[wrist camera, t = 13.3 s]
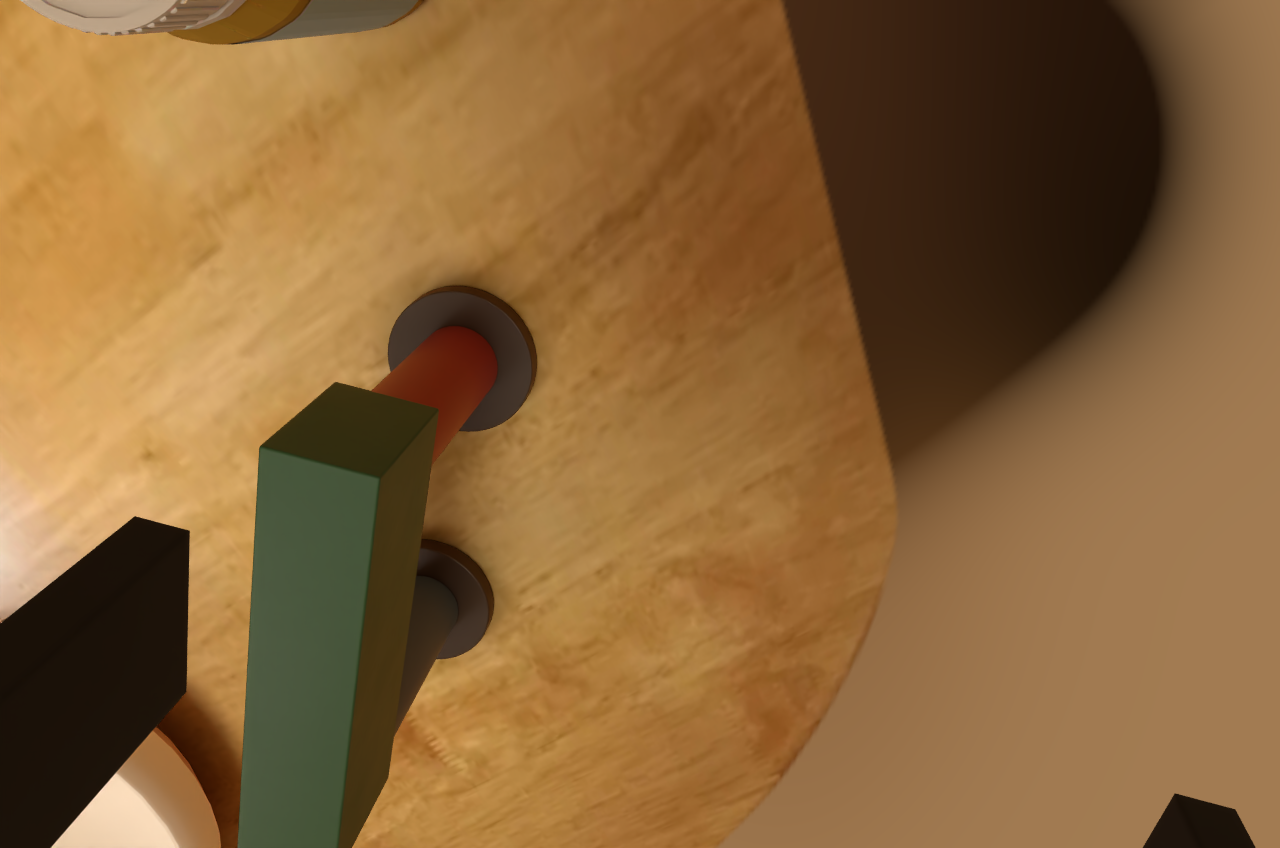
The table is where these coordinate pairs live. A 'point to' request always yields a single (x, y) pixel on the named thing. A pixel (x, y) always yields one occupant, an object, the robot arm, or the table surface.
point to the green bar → (330, 613)
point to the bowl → (147, 805)
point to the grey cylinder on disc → (442, 615)
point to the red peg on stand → (460, 360)
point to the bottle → (225, 17)
